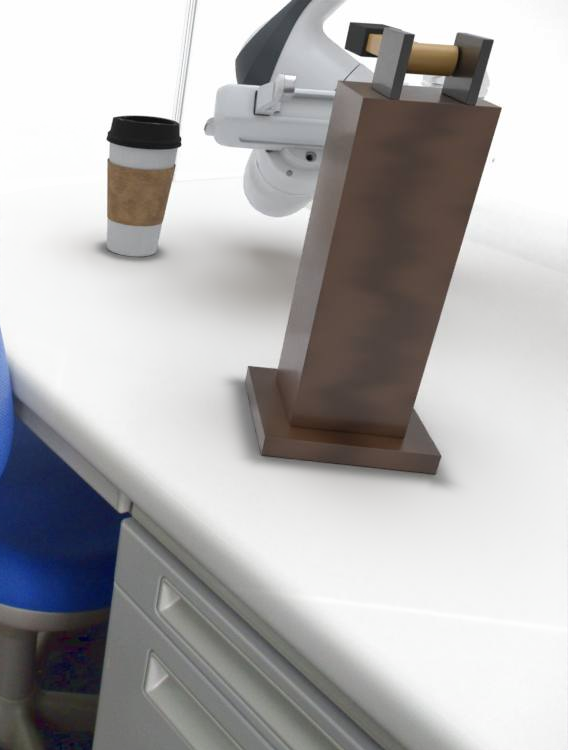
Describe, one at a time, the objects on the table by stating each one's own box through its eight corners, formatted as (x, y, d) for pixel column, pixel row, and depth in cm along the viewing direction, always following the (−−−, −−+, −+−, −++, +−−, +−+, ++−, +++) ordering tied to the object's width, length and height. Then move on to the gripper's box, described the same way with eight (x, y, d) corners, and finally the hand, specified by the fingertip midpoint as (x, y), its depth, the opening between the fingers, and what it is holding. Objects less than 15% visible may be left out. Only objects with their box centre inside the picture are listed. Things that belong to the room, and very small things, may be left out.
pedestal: (393, 397, 71) (496, 30, 58) (436, 474, 60) (573, 47, 48) (244, 381, 72) (313, 18, 59) (261, 455, 61) (349, 32, 49)
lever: (383, 51, 69) (389, 24, 68) (452, 80, 54) (461, 45, 53) (337, 48, 70) (343, 21, 69) (392, 75, 54) (400, 41, 53)
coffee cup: (86, 252, 101) (98, 118, 94) (108, 234, 108) (120, 107, 101) (157, 264, 98) (175, 127, 91) (174, 245, 105) (192, 116, 98)
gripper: (204, 105, 89) (224, 42, 76) (409, 120, 88) (467, 58, 74) (198, 165, 89) (217, 113, 75) (403, 181, 87) (461, 131, 74)
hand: (343, 86), depth 75 cm, fingers open, 8 cm apart
